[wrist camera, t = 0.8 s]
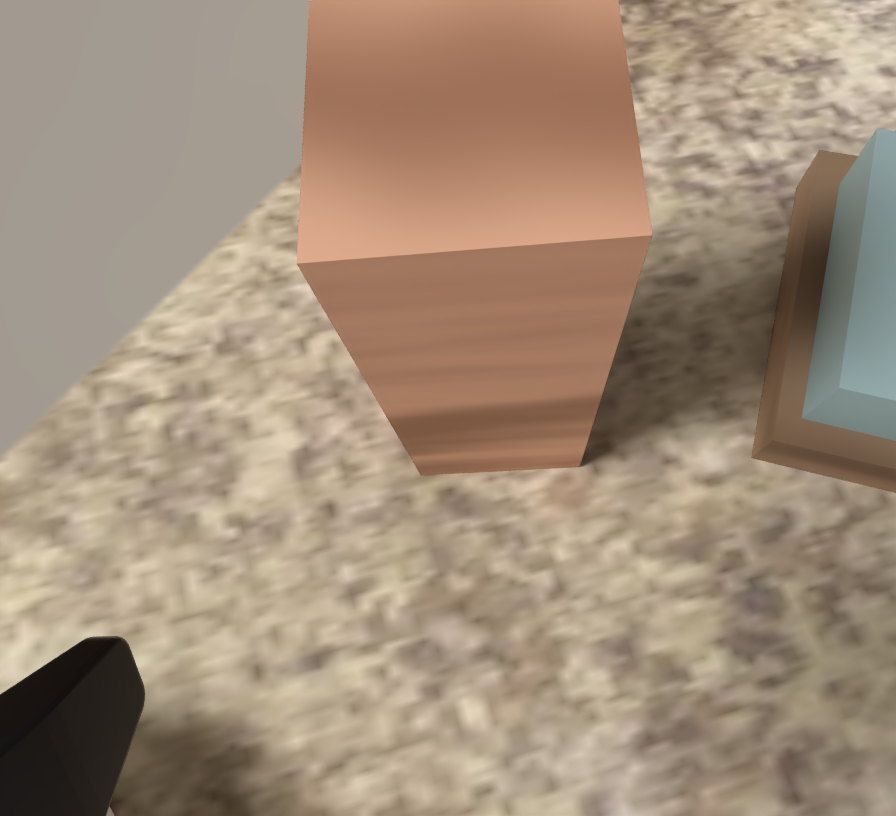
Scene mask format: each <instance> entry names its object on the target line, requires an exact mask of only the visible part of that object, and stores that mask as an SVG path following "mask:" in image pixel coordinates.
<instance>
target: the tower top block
mask: <svg viewBox="0 0 896 816" xmlns="http://www.w3.org/2000/svg"><path fill="white" fill-rule="evenodd" d="M802 419H806V420H810V421H814V422H819V423H823V424H827V425H831V426H835V427H840V428H844V429H848V430H852V431H856V432H860V433H865V434H869V435H873V436H877V437H881V438H886V439H890V440H894V441H896V131H890V130H883V129H877V130H876V131H875V133H874V134H873V136H872V137H871V139H870V140H869V142H868V143H867V145H866V146H865V147H864V149H863V150H862V152H861V153H860V155H859V156H858V158H857V159H856V161H855V162H854V164H853V165H852V167H851V168H850V169H849V171H848V172H847V174H846V175H845V177H844V178H843V180H842V181H841V183H840V185H839V191H838V197H837V203H836V209H835V215H834V221H833V228H832V234H831V240H830V246H829V252H828V258H827V265H826V271H825V277H824V283H823V289H822V296H821V302H820V308H819V314H818V320H817V327H816V333H815V339H814V345H813V351H812V358H811V364H810V370H809V376H808V382H807V389H806V395H805V401H804V407H803V413H802Z"/></svg>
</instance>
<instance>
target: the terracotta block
mask: <svg viewBox="0 0 896 816" xmlns="http://www.w3.org/2000/svg"><path fill="white" fill-rule="evenodd" d="M306 61H307V62H306V81H305V102H304V123H303V124H304V125H303V143H302V164H301V185H300V206H299V227H298V248H297V265H298V267H299V268H300V270H301V272H302V273H303V275H304V277H305V279H306V280H307V282H308V284H309V285H310V287H311V289H312V290H313V292H314V294H315V296H316V297H317V299H318V301H319V302H320V304H321V306H322V307H323V309H324V311H325V313H326V314H327V316H328V318H329V319H330V321H331V323H332V325H333V326H334V328H335V330H336V331H337V333H338V335H339V336H340V338H341V340H342V342H343V343H344V345H345V347H346V348H347V350H348V352H349V354H350V355H351V357H352V359H353V360H354V362H355V364H356V365H357V367H358V369H359V371H360V372H361V374H362V376H363V377H364V379H365V381H366V383H367V384H368V386H369V388H370V389H371V391H372V393H373V394H374V396H375V398H376V400H377V401H378V403H379V405H380V406H381V408H382V410H383V412H384V413H385V415H386V417H387V418H388V420H389V422H390V423H391V425H392V427H393V429H394V430H395V432H396V434H397V435H398V437H399V439H400V440H401V442H402V444H403V446H404V447H405V449H406V451H407V452H408V454H409V456H410V458H411V459H412V461H413V463H414V464H415V466H416V468H417V469H418V471H419V473H420V475H435V474H454V473H473V472H492V471H511V470H530V469H549V468H568V467H580V464H581V461H582V458H583V455H584V451H585V448H586V445H587V442H588V439H589V435H590V432H591V429H592V426H593V423H594V419H595V416H596V413H597V410H598V407H599V404H600V400H601V397H602V394H603V391H604V388H605V384H606V381H607V378H608V375H609V372H610V368H611V365H612V362H613V359H614V356H615V353H616V349H617V346H618V343H619V340H620V337H621V333H622V330H623V327H624V324H625V321H626V317H627V314H628V311H629V308H630V305H631V302H632V298H633V295H634V292H635V289H636V286H637V282H638V279H639V276H640V273H641V270H642V266H643V263H644V260H645V257H646V254H647V251H648V247H649V244H650V241H651V238H652V230H651V223H650V216H649V209H648V202H647V195H646V188H645V181H644V174H643V168H642V161H641V154H640V147H639V140H638V133H637V126H636V119H635V112H634V105H633V98H632V92H631V85H630V78H629V71H628V64H627V57H626V50H625V43H624V36H623V29H622V23H621V16H620V9H619V2H618V0H313V1H309V18H308V39H307V60H306Z"/></svg>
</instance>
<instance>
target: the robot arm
mask: <svg viewBox="0 0 896 816" xmlns="http://www.w3.org/2000/svg"><path fill="white" fill-rule="evenodd" d="M144 701H145V690H144V685H143V682H142V679H141V676H140V674H139V671H138V668H137V666H136V663H135V660H134V658H133V655H132V652H131V649H130V647H129V645H128V643H127V641H126V640H125V639H123V638H122V637H119V636H102V637H90V638H87V639H84V640H83V641H81V642H79V643H78V644H76V645H75V646H73V647H72V648H70V649H69V650H67V651H66V652H64V653H63V654H61V655H60V656H58V657H57V658H55V659H54V660H52V661H51V662H49V663H47V664H46V665H44V666H43V667H41V668H40V669H38V670H37V671H35V672H34V673H32V674H31V675H29V676H28V677H26V678H25V679H23V680H22V681H20V682H19V683H17V684H16V685H14V686H12V687H11V688H9V689H8V690H6V691H5V692H3V693H2V694H0V816H106V815H107V812H108V809H109V806H110V803H111V801H112V798H113V795H114V792H115V789H116V786H117V783H118V780H119V777H120V774H121V771H122V769H123V766H124V763H125V760H126V757H127V754H128V751H129V748H130V745H131V742H132V739H133V736H134V734H135V731H136V728H137V725H138V722H139V719H140V716H141V713H142V710H143V706H144Z"/></svg>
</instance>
